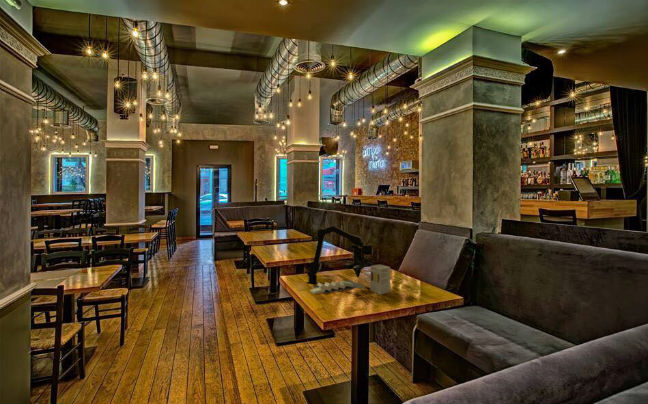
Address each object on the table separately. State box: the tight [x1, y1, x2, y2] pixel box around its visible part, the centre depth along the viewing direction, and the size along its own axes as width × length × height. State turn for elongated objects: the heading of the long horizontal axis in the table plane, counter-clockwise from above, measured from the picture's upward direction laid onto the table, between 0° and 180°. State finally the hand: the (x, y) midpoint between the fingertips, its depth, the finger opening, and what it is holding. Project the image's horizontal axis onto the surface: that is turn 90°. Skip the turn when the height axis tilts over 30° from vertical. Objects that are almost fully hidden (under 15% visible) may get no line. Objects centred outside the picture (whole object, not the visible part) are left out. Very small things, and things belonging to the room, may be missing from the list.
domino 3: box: [324, 281, 339, 290], centre depth 228 cm, size 5×2×8 cm
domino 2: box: [316, 282, 332, 291], centre depth 225 cm, size 5×2×8 cm
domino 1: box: [309, 287, 325, 295], centre depth 223 cm, size 5×2×8 cm
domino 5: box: [339, 280, 354, 287], centre depth 234 cm, size 5×2×8 cm
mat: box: [311, 279, 366, 294], centre depth 236 cm, size 18×32×1 cm, turn 119°
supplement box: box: [369, 264, 391, 295], centre depth 226 cm, size 10×9×17 cm
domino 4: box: [331, 280, 345, 289], centre depth 231 cm, size 5×2×8 cm
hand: (357, 277), depth 238 cm, fingers closed
